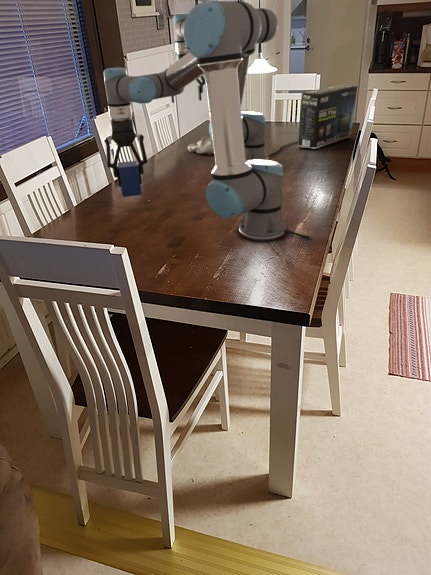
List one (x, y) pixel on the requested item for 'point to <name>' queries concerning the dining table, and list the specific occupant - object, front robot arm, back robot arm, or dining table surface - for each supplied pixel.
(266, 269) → the dining table surface
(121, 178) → the block
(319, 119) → the router box
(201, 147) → the fossil
